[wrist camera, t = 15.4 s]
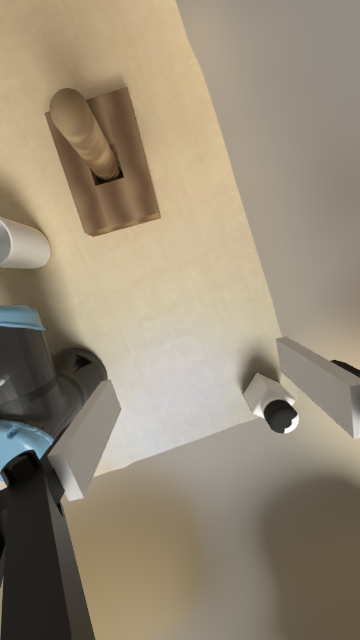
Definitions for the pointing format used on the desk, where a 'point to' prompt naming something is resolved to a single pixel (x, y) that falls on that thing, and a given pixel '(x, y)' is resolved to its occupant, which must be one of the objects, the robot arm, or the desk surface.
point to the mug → (22, 246)
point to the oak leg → (84, 133)
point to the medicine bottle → (271, 403)
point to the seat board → (119, 195)
